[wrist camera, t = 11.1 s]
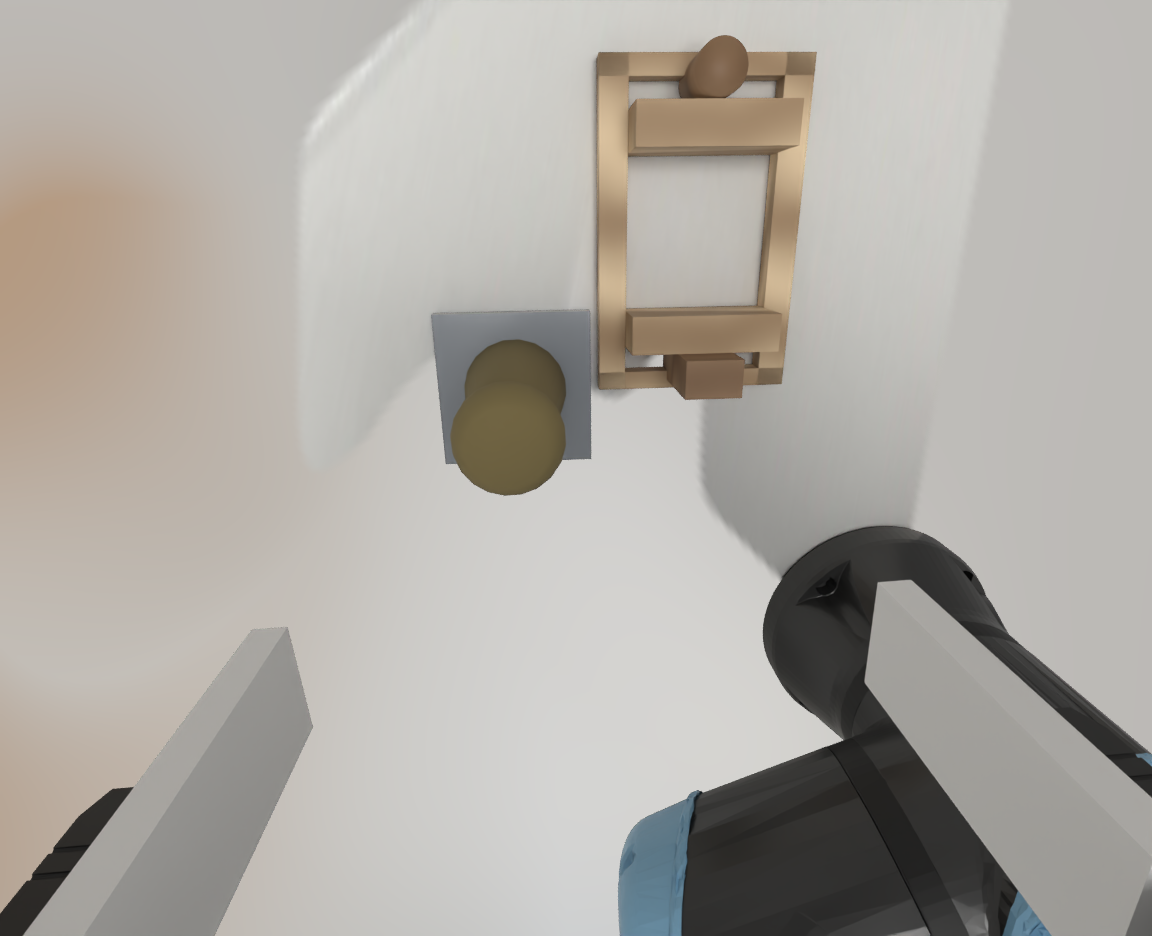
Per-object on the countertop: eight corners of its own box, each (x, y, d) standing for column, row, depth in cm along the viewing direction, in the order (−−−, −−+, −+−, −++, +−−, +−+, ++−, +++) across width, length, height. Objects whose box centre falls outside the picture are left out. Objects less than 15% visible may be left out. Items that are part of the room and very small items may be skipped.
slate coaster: (590, 454, 39) (591, 458, 38) (447, 459, 39) (445, 464, 38) (588, 309, 36) (589, 311, 35) (433, 313, 35) (431, 315, 35)
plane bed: (774, 379, 38) (815, 404, 32) (597, 384, 38) (608, 411, 32) (806, 58, 32) (864, 21, 26) (596, 58, 31) (609, 21, 26)
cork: (532, 319, 35) (529, 354, 25) (584, 406, 37) (602, 473, 27) (444, 373, 36) (406, 428, 26) (500, 456, 38) (486, 538, 28)
